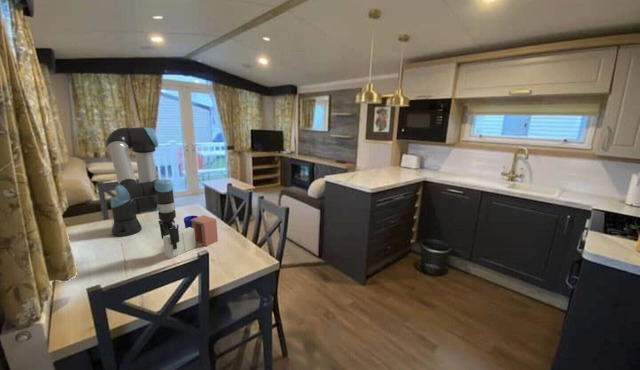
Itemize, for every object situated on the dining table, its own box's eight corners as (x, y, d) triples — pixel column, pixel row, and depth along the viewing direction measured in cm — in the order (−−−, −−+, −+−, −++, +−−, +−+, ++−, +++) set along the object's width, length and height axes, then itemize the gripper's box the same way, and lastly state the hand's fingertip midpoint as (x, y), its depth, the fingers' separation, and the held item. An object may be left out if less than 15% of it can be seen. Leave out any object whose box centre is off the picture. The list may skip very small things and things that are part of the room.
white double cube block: (165, 256, 144) (162, 236, 141) (191, 245, 156) (189, 227, 153) (170, 258, 142) (167, 238, 139) (196, 247, 154) (194, 228, 151)
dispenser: (192, 242, 161) (190, 219, 157) (205, 236, 168) (203, 215, 164) (205, 246, 155) (203, 223, 152) (217, 241, 162) (216, 218, 159)
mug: (200, 236, 167) (198, 221, 165) (182, 234, 170) (180, 219, 167) (207, 231, 175) (206, 216, 173) (190, 229, 178) (189, 214, 175)
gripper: (149, 209, 140) (155, 251, 145) (169, 216, 131) (175, 260, 137) (164, 205, 146) (169, 246, 152) (184, 211, 138) (189, 254, 143)
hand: (172, 253), depth 144 cm, fingers closed on white double cube block, 4 cm apart
